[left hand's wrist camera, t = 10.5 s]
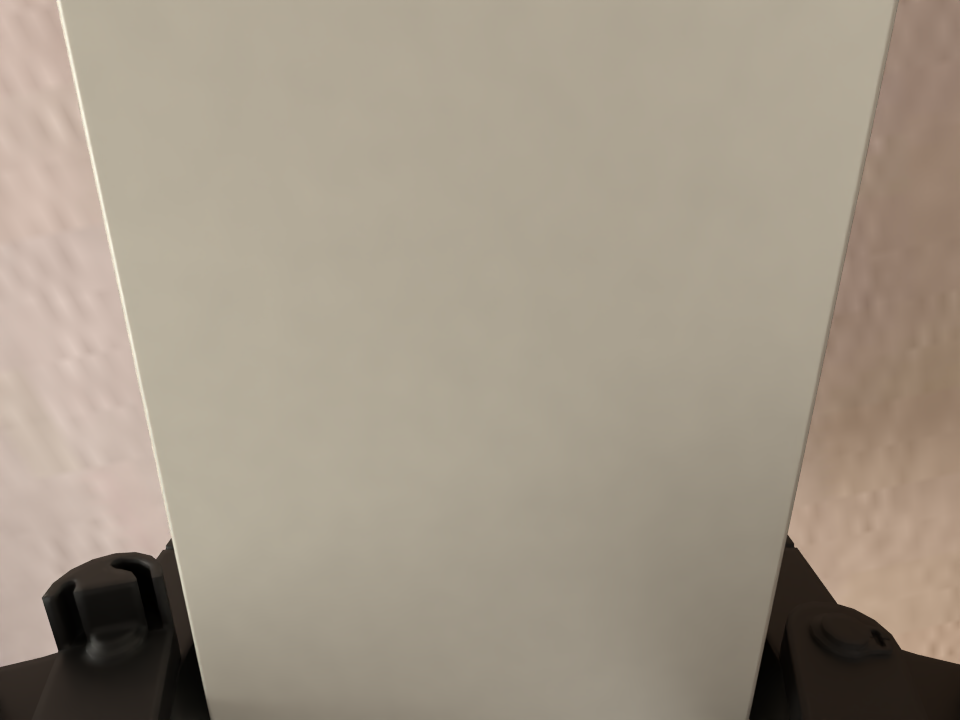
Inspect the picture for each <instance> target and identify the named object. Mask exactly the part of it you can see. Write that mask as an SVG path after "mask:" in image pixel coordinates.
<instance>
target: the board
mask: <svg viewBox="0 0 960 720" xmlns="http://www.w3.org/2000/svg"><path fill="white" fill-rule="evenodd" d="M56 1H57V6H58V10H59V15H60V20H61V24H62V29H63V34H64V38H65V43H66V48H67V52H68V57H69V62H70V66H71V71H72V76H73V80H74V85H75V90H76V94H77V99H78V104H79V108H80V113H81V118H82V122H83V127H84V132H85V136H86V141H87V146H88V150H89V155H90V160H91V164H92V169H93V174H94V178H95V183H96V188H97V192H98V197H99V202H100V206H101V211H102V216H103V220H104V225H105V229H106V234H107V239H108V243H109V248H110V253H111V257H112V262H113V267H114V271H115V276H116V281H117V285H118V290H119V295H120V299H121V304H122V309H123V313H124V318H125V323H126V327H127V332H128V337H129V341H130V346H131V351H132V355H133V360H134V365H135V369H136V374H137V379H138V383H139V388H140V393H141V397H142V402H143V407H144V411H145V416H146V421H147V425H148V430H149V435H150V439H151V444H152V449H153V453H154V458H155V463H156V467H157V472H158V477H159V481H160V486H161V491H162V495H163V500H164V505H165V509H166V514H167V519H168V523H169V528H170V533H171V537H172V542H173V547H174V551H175V556H176V561H177V565H178V570H179V575H180V579H181V584H182V589H183V593H184V598H185V603H186V607H187V612H188V617H189V621H190V626H191V631H192V635H193V640H194V645H195V649H196V654H197V659H198V663H199V668H200V673H201V677H202V682H203V687H204V691H205V696H206V701H207V705H208V710H209V715H210V719H211V720H749V716H750V711H751V706H752V701H753V697H754V692H755V687H756V682H757V677H758V673H759V668H760V663H761V658H762V653H763V649H764V644H765V639H766V634H767V629H768V625H769V620H770V615H771V610H772V606H773V601H774V596H775V591H776V586H777V582H778V577H779V572H780V567H781V562H782V558H783V553H784V548H785V543H786V538H787V534H788V529H789V524H790V519H791V515H792V510H793V505H794V500H795V495H796V491H797V486H798V481H799V476H800V471H801V467H802V462H803V457H804V452H805V447H806V443H807V438H808V433H809V428H810V424H811V419H812V414H813V409H814V404H815V400H816V395H817V390H818V385H819V380H820V376H821V371H822V366H823V361H824V356H825V352H826V347H827V342H828V337H829V333H830V328H831V323H832V318H833V313H834V309H835V304H836V299H837V294H838V289H839V285H840V280H841V275H842V270H843V266H844V261H845V256H846V251H847V246H848V242H849V237H850V232H851V227H852V222H853V218H854V213H855V208H856V203H857V198H858V194H859V189H860V184H861V179H862V174H863V170H864V165H865V160H866V155H867V151H868V146H869V141H870V136H871V131H872V127H873V122H874V117H875V112H876V107H877V103H878V98H879V93H880V88H881V84H882V79H883V74H884V69H885V64H886V60H887V55H888V50H889V45H890V40H891V36H892V31H893V26H894V21H895V16H896V12H897V7H898V2H899V0H56Z"/></svg>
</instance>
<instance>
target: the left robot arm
mask: <svg viewBox="0 0 960 720" xmlns="http://www.w3.org/2000/svg"><path fill="white" fill-rule="evenodd" d="M42 600H43V603H44V606H45V609H46V613H47V616H48V619H49V622H50V625H51V629H52V632H53V635H54V638H55V641H56V644H57V648H58V653H55V654H52V655H48V656H45V657H41V658H37V659H33V660H29V661H24V662H20V663H16V664H12V665H8V666H3V667H0V720H211V719H210V715H209V710H208V705H207V701H206V696H205V691H204V687H203V682H202V677H201V673H200V668H199V663H198V659H197V654H196V649H195V645H194V640H193V635H192V631H191V626H190V621H189V617H188V612H187V607H186V603H185V598H184V593H183V589H182V584H181V579H180V575H179V570H178V565H177V561H176V556H175V551H174V547H173V542H172V538H171V539H170V541H169V542H168V544H167V545H166V550H163V551H162V552H161V553H160V555H159V556H158V558H157V559H155V558H153V557H152V556H150V555H146V554H141V553H137V552H131V553H115V554H111V555H108V556H104V557H100V558H96V559H93V560H91V561H88V562H86V563H84V564H82V565H80V566H78V567H76V568H74V569H72V570H70V571H69V572H67V573H66V574H65V575H63V576H62V577H61V578H59V579H58V580H57V581H55V582H54V583H53V584H52V585H51V587H50V588H49V589H48V591H47V592H46V593H45V595H44V596H43V597H42ZM749 720H960V664H955V663H951V662H947V661H943V660H938V659H934V658H930V657H926V656H921V655H917V654H914V653H911V652H907V651H904V650H901V648H900V647H899V645H898V644H897V642H896V641H895V639H894V637H893V636H892V634H890V633H889V632H888V631H887V630H886V629H885V628H883V627H882V626H881V625H880V624H879V623H878V622H876V621H875V620H874V619H872V618H870V617H868V616H866V615H864V614H862V613H860V612H859V611H857V610H855V609H852V608H849V607H846V606H842V605H839V604H837V603H836V601H835V600H834V598H833V597H832V596H831V594H830V593H829V591H828V590H827V589H826V587H825V586H824V585H823V583H822V582H821V580H820V579H819V578H818V576H817V575H816V573H815V572H814V571H813V569H812V568H811V566H810V565H809V564H808V562H807V561H806V560H805V558H804V557H803V555H802V554H801V553H800V551H799V550H798V548H794V543H793V542H792V540H791V539H790V537H789V536H788V535H787V538H786V543H785V548H784V553H783V558H782V562H781V567H780V572H779V577H778V582H777V586H776V591H775V596H774V601H773V606H772V610H771V615H770V620H769V625H768V629H767V634H766V639H765V644H764V649H763V653H762V658H761V663H760V668H759V673H758V677H757V682H756V687H755V692H754V697H753V701H752V706H751V711H750V716H749Z"/></svg>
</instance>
